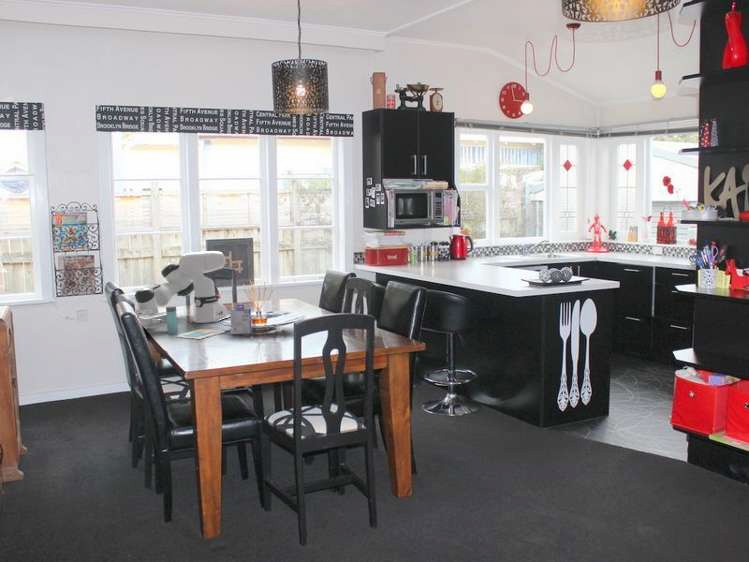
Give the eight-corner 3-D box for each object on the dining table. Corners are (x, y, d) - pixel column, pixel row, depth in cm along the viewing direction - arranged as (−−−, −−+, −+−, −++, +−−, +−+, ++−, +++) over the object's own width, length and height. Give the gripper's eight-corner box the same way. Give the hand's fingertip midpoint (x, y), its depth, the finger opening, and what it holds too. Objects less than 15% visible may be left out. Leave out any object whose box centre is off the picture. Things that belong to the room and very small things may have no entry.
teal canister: (172, 332, 379) (170, 306, 377) (180, 333, 377) (178, 306, 375) (165, 334, 375) (163, 307, 373) (173, 335, 372) (170, 308, 371)
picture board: (200, 330, 383) (200, 328, 383) (225, 332, 374) (225, 330, 374) (174, 337, 366) (174, 336, 366) (199, 339, 358) (199, 338, 358)
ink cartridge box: (252, 331, 374) (250, 303, 372) (250, 333, 368) (248, 305, 366) (233, 332, 374) (231, 304, 372) (231, 334, 368) (229, 306, 366)
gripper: (162, 320, 392) (181, 321, 385) (133, 327, 374) (152, 329, 368) (162, 308, 391) (180, 310, 384) (132, 315, 374) (151, 317, 367)
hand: (166, 319), depth 376 cm, fingers open, 8 cm apart
